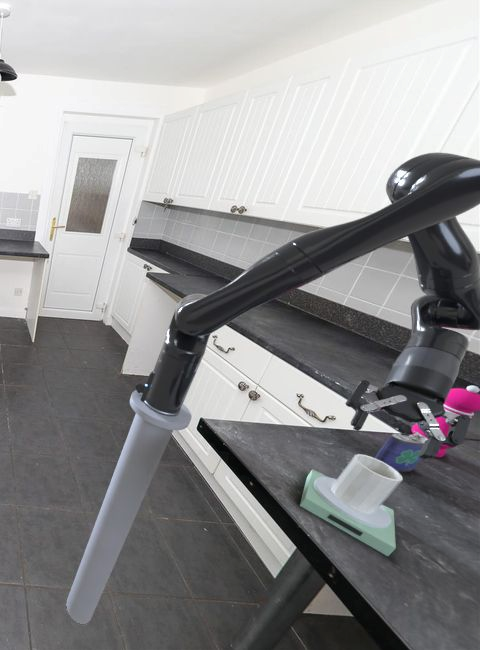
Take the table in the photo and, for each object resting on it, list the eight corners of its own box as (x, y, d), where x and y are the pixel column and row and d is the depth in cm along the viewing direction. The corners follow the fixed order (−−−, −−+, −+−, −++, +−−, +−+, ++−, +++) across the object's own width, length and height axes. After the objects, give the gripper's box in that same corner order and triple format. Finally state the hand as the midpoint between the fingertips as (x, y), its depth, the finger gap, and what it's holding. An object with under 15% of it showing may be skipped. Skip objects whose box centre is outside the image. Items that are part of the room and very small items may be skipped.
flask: (402, 463, 82) (430, 430, 77) (417, 473, 79) (446, 439, 75) (366, 460, 81) (392, 427, 77) (379, 470, 79) (407, 436, 74)
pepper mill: (419, 439, 91) (469, 378, 83) (454, 460, 84) (512, 397, 77) (394, 436, 91) (441, 376, 83) (427, 457, 84) (482, 394, 77)
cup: (329, 496, 66) (354, 463, 63) (332, 481, 70) (355, 449, 67) (374, 520, 62) (403, 486, 59) (374, 502, 66) (401, 470, 62)
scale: (299, 506, 67) (307, 495, 66) (307, 476, 75) (314, 466, 74) (387, 557, 59) (398, 546, 58) (386, 518, 67) (396, 507, 65)
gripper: (376, 351, 68) (343, 415, 66) (495, 386, 59) (461, 464, 56) (363, 365, 74) (331, 425, 71) (469, 400, 64) (437, 471, 62)
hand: (388, 442), depth 64 cm, fingers open, 8 cm apart
